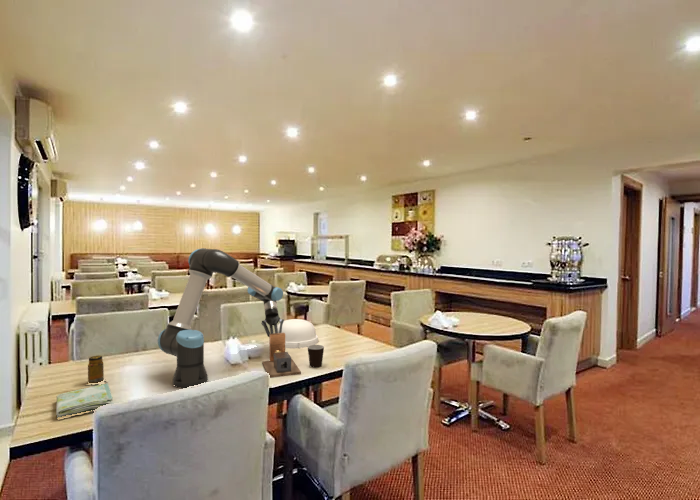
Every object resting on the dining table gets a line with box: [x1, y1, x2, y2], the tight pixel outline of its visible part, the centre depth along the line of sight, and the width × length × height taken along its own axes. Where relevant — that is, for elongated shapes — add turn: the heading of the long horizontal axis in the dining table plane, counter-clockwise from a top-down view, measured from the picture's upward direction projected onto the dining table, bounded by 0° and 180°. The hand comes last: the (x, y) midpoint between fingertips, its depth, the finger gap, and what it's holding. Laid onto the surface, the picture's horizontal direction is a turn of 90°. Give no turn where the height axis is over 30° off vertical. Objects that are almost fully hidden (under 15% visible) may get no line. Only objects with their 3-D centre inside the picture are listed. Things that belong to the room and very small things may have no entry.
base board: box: [261, 358, 302, 379], centre depth 204 cm, size 16×22×1 cm
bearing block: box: [274, 351, 292, 373], centre depth 200 cm, size 7×10×7 cm
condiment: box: [87, 355, 105, 383], centre depth 182 cm, size 7×8×12 cm
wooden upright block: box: [268, 332, 286, 364], centre depth 207 cm, size 8×16×14 cm, turn 20°
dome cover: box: [277, 318, 319, 349], centre depth 255 cm, size 32×30×14 cm
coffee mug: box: [307, 344, 325, 369], centre depth 210 cm, size 12×9×10 cm
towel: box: [55, 382, 113, 419], centre depth 158 cm, size 18×21×5 cm
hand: (276, 346), depth 217 cm, fingers closed
